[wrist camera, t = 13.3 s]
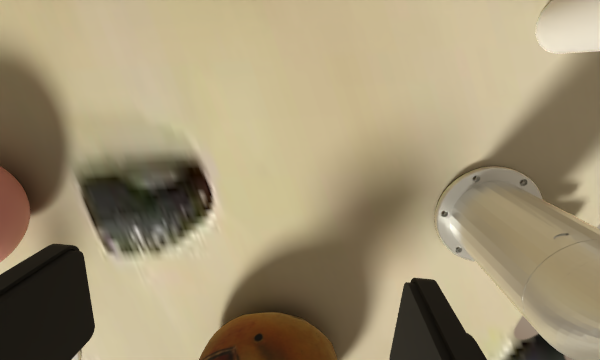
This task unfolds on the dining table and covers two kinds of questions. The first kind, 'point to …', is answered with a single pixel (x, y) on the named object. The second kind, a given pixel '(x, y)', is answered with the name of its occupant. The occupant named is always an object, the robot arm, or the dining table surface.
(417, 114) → the dining table surface
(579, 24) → the white cup
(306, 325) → the ceramic pitcher
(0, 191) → the balloon
